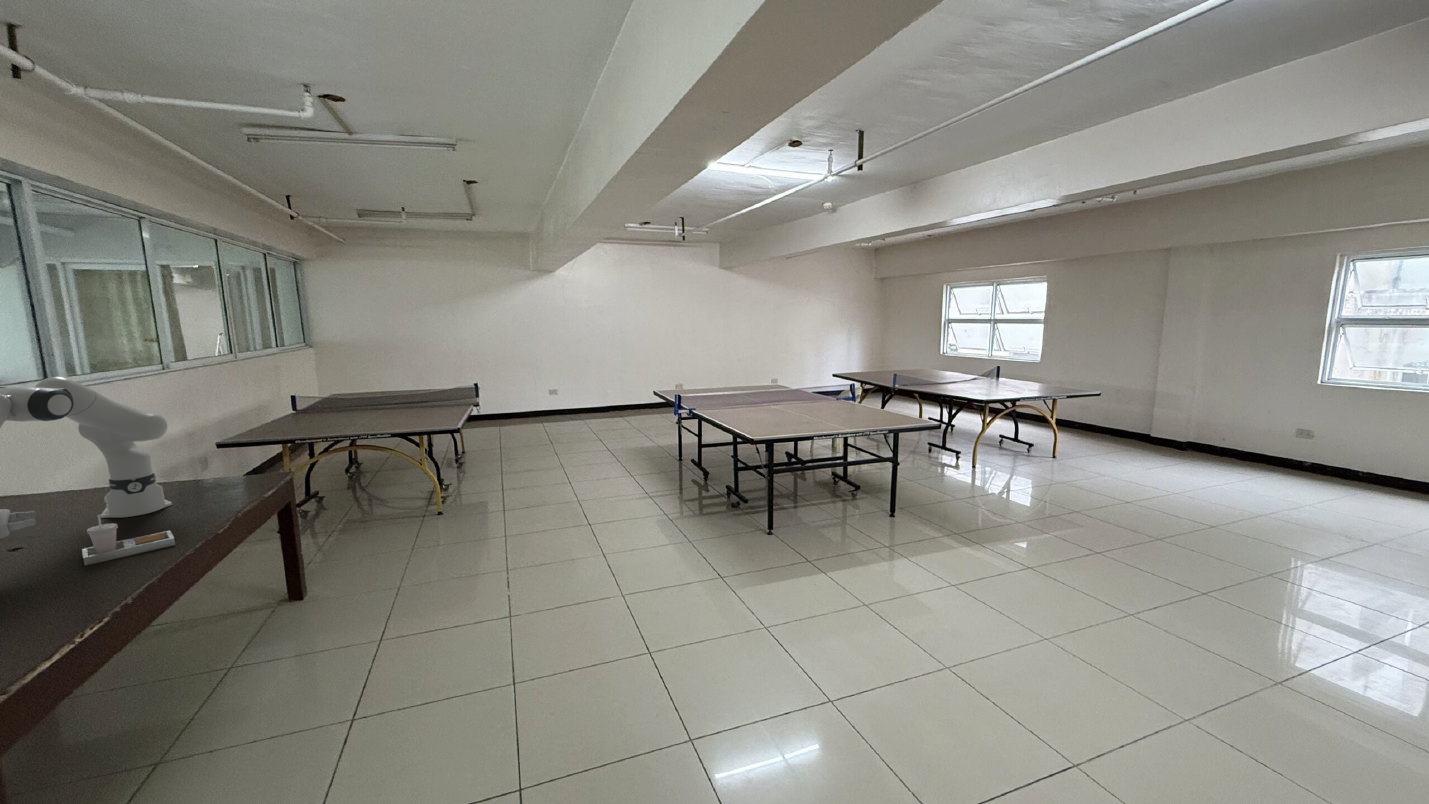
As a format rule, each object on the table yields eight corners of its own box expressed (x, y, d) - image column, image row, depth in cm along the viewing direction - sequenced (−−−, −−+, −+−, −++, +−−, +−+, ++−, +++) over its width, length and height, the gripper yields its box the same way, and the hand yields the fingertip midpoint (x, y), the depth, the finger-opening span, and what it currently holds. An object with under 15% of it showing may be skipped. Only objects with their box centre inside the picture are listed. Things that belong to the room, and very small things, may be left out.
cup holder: (83, 556, 166) (81, 548, 166) (171, 537, 182) (170, 530, 181) (84, 565, 160) (83, 558, 160) (175, 545, 176) (174, 538, 175)
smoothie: (85, 561, 163) (77, 518, 161) (103, 552, 169) (95, 511, 167) (111, 559, 165) (104, 517, 163) (127, 550, 171) (121, 509, 169)
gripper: (-53, 530, 137) (32, 515, 148) (-45, 511, 150) (34, 499, 161) (-49, 553, 138) (36, 537, 149) (-41, 532, 151) (37, 519, 162)
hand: (35, 517), depth 155 cm, fingers open, 8 cm apart
